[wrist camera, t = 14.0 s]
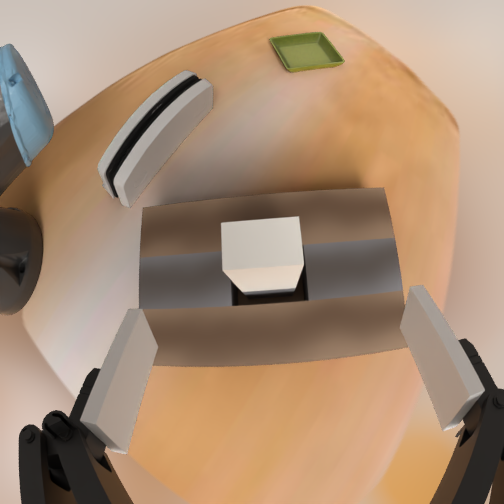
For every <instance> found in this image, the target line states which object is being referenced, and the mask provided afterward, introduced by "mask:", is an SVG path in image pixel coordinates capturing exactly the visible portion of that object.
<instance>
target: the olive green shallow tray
mask: <svg viewBox="0 0 504 504" xmlns="http://www.w3.org/2000/svg"><path fill="white" fill-rule="evenodd" d="M269 40H270V42H271V43H272V45H273V47H274V48H275V50H276V52H277V53H278V55H279V57H280V59H281V60H282V62H283V64H284V66H285V67H286V69H287V70H288V71H290V72H300V71H306V70H314V69H322V68H331V67H336V66H339V65H341V64H343V63H344V62H345V60H344V59H343V58H342V56H341V55H340V54H339V52H338V51H337V50H336V49H335V47H334V46H333V45H332V43H331V42H330V41H329V40H328V38H327V37H326V36H325V35H324V34H323V33H322V32H312V33H303V34H295V35H287V36H280V37H273V38H270V39H269Z"/></svg>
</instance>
